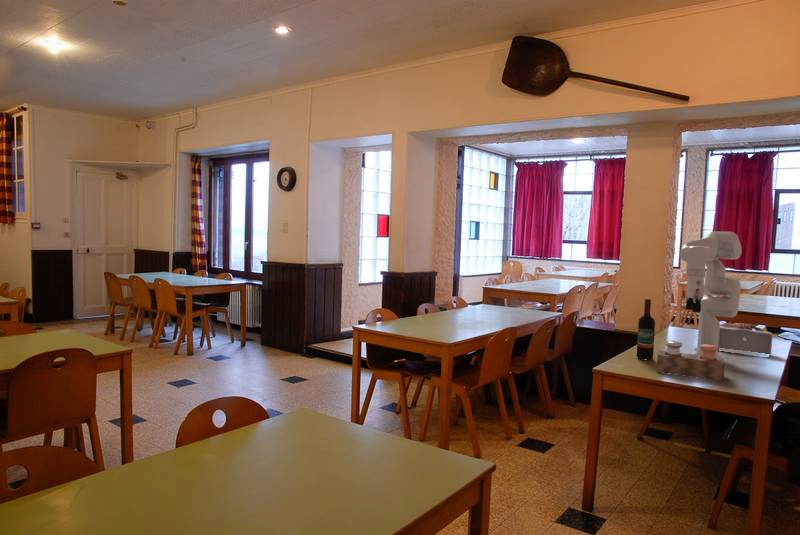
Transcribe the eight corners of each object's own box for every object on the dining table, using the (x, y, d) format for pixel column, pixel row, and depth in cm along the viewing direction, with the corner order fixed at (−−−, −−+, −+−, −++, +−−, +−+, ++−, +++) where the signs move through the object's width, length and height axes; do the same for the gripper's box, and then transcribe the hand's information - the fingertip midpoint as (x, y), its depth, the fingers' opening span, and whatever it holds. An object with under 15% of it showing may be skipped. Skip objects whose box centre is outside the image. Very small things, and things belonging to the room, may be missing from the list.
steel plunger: (664, 361, 243) (665, 342, 242) (664, 358, 249) (665, 340, 248) (680, 363, 239) (682, 344, 239) (681, 360, 245) (682, 341, 245)
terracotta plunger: (699, 365, 236) (700, 346, 235) (699, 362, 242) (700, 343, 241) (717, 367, 233) (718, 348, 232) (716, 364, 238) (717, 345, 238)
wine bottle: (655, 358, 269) (658, 299, 266) (650, 361, 263) (653, 301, 261) (639, 356, 274) (642, 298, 272) (634, 358, 268) (637, 299, 266)
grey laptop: (771, 353, 288) (773, 330, 287) (770, 358, 275) (772, 334, 274) (717, 346, 303) (719, 324, 302) (714, 351, 290) (716, 328, 289)
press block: (656, 372, 242) (657, 354, 242) (658, 367, 252) (659, 350, 251) (723, 381, 230) (724, 362, 229) (722, 375, 239) (723, 357, 239)
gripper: (711, 274, 233) (708, 313, 234) (698, 273, 250) (695, 309, 250) (692, 273, 234) (689, 312, 235) (680, 272, 251) (678, 308, 252)
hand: (692, 310), depth 243 cm, fingers open, 9 cm apart
